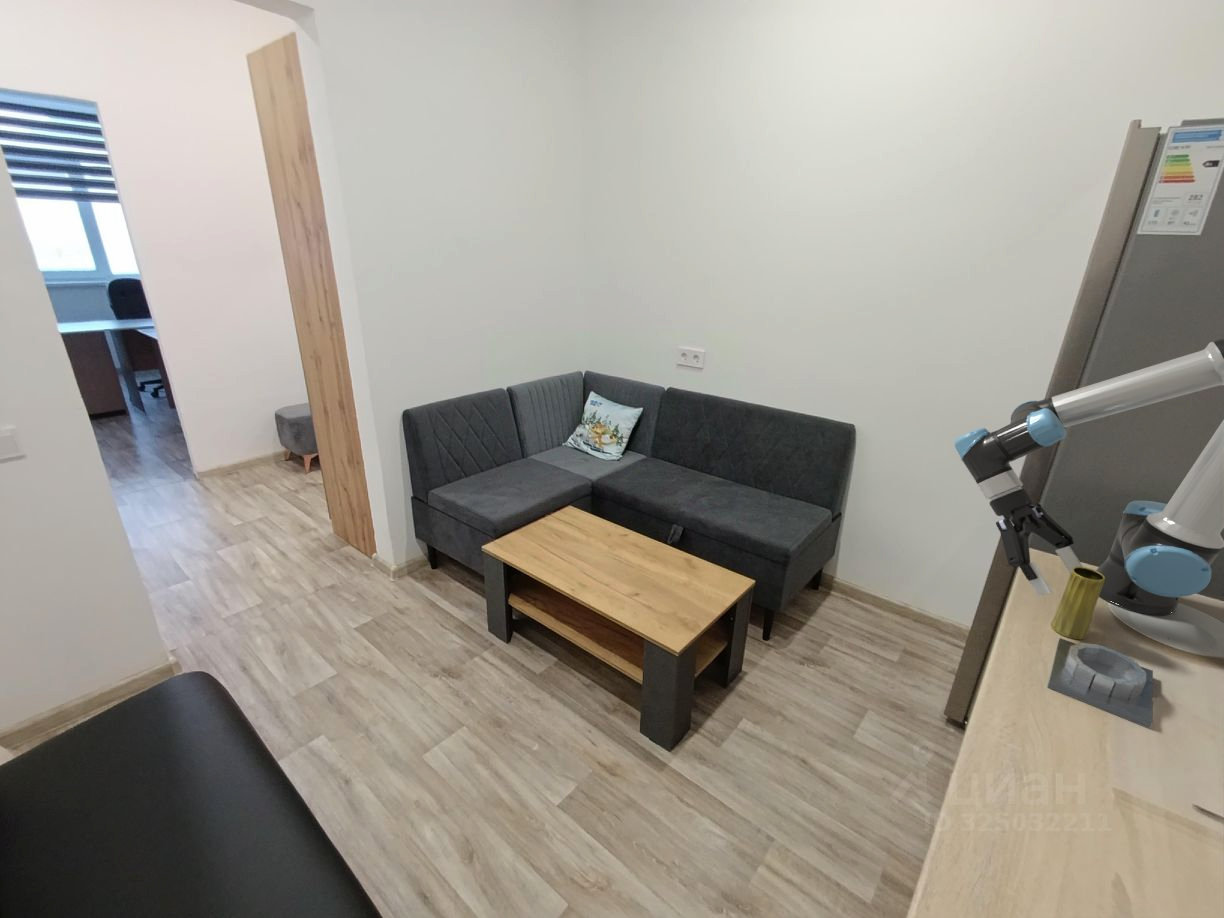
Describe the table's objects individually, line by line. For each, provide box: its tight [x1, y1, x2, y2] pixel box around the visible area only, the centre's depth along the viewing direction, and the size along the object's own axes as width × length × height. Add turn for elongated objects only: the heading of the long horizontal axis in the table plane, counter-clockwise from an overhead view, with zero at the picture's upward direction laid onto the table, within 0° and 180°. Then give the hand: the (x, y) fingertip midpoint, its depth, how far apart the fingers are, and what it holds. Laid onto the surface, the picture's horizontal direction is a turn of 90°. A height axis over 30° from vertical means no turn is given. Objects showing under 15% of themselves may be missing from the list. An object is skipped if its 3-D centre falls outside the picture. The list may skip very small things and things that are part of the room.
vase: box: [1050, 566, 1105, 640], centre depth 114 cm, size 6×6×14 cm
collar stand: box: [1047, 638, 1154, 729], centre depth 102 cm, size 16×14×4 cm
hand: (1063, 585), depth 115 cm, fingers open, 13 cm apart
